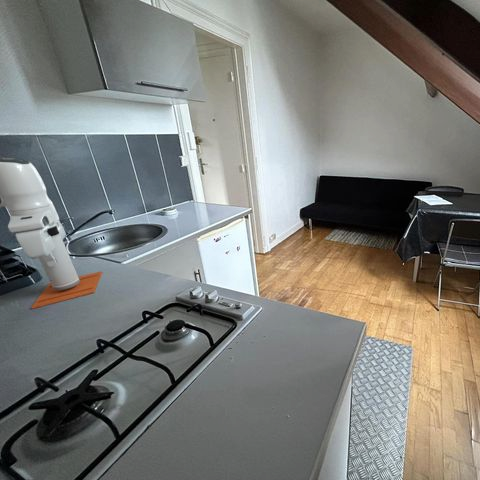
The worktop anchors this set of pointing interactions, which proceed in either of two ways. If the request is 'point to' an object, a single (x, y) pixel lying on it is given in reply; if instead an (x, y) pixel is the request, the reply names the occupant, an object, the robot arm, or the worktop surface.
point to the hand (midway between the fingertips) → (57, 260)
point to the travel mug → (60, 264)
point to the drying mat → (68, 291)
